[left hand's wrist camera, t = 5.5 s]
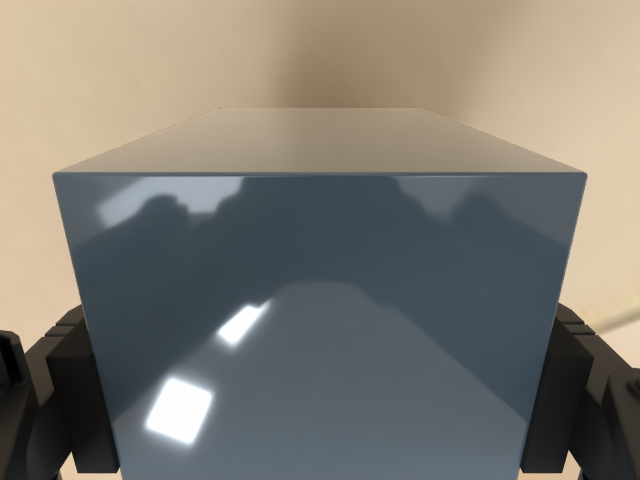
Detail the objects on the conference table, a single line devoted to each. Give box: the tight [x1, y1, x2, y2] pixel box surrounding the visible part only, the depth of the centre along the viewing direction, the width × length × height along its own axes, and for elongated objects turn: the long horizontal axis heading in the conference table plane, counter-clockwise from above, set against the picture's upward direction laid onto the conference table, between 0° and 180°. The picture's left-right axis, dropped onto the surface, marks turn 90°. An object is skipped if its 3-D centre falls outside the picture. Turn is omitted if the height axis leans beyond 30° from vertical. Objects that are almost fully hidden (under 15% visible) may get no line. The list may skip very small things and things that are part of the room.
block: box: [52, 108, 587, 480], centre depth 13 cm, size 8×9×11 cm
